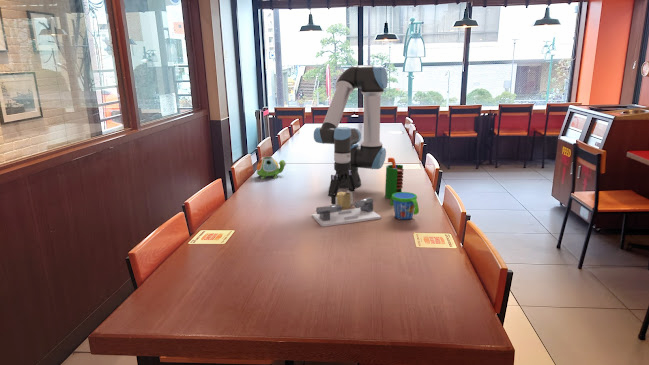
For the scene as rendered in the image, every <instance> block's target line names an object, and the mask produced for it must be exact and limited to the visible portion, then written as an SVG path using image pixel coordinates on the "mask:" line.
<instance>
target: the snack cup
mask: <svg viewBox="0 0 649 365" xmlns="http://www.w3.org/2000/svg"><path fill="white" fill-rule="evenodd" d="M417 199H418V195H417V194H416V193H413V192H410V191H409V192H408V191H401V192H397V193H394V194H392V197H391V199H390V202H389V203H390V206H391V207H393V210H394V216H395V218H397V219H399V220H410V219H412V218H413V215H417V214H419V205H418V200H417Z"/></svg>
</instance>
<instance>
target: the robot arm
mask: <svg viewBox="0 0 649 365" xmlns="http://www.w3.org/2000/svg"><path fill="white" fill-rule="evenodd" d="M388 81H389V79H388V72H387V70H386V67H385V66H383V65H380V64H379V65H378V64H367V65H366V64H361V65H359V64H357V65H356V64H355V65H352V66H350V67H348V68H347V69H346V70H344V71H343V72H342V73H341V75H339V77H338V79H337V81H336V83H335V92H334V93H333V97H332V99H331V102H330V104H329V107H328V109H327V113H326V114H325V118H324V120H323V123H322V125H321V127H320V126H319V127H315V129H314V131H313V140H314V141H315V143H318V144H323V145H324V144H326V145H327V144H328V145H333V146H334V148H333V149H334V151H333V152H334V153H333V161H334V163H333V168H334V171H335V174H331V175H330V183H329V188H328V193H327V196H328V197H330V201H331V202H330V204H331V206H332V205H337V197H336V196H337V193H339V190H340V188H343V189H347V191H346V193H350V206H354V202H353V200H354V199H353V198H354V192H355V191H356V189H357V188H358V187H361V185H362V180H361V177H360V174H359V169H368V170H369V169H370V170H380V169H381V168H383V166H384V164H385V161H386V157H387V150H386V148H385V147H383V143H382V142H381V140H380V138H381V137H380V136H381V132H380V131H381V96H382V94H383V93H384V92H385V89H387V87H388ZM355 89H360V93H361V94H362V96H363V141H361V138H362V133H361V132H360V130H359V129H358V128H352V127H347V126H340V127H339V125H340V123H341V120H342V116H343V114H344V111H345V108H346V106H347V103H348V101H349V98H350V95H351V94H352V93H354V90H355ZM360 141H361V143H360V145H359V142H360Z"/></svg>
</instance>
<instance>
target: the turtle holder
mask: <svg viewBox="0 0 649 365" xmlns="http://www.w3.org/2000/svg"><path fill="white" fill-rule="evenodd" d="M285 166H286V161H285V159H282V160H280V161H279V162H277V161H276V160H275V159H274V157H273V156H263V157H261V158H260V160H259V161H258V163H257V165H256V174H257V176H259V177H260V180H265V179H266V177H272V178H273V179H277V178H278V175H279V174H281V173H283V171H284V169H285Z"/></svg>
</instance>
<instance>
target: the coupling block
mask: <svg viewBox="0 0 649 365" xmlns="http://www.w3.org/2000/svg"><path fill="white" fill-rule="evenodd" d="M336 197H337V205H341V207H342V210H348V209H349V208H350V209H351V205H350V193H347V191H346V192H345V191H338V193H337V196H336Z"/></svg>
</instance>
